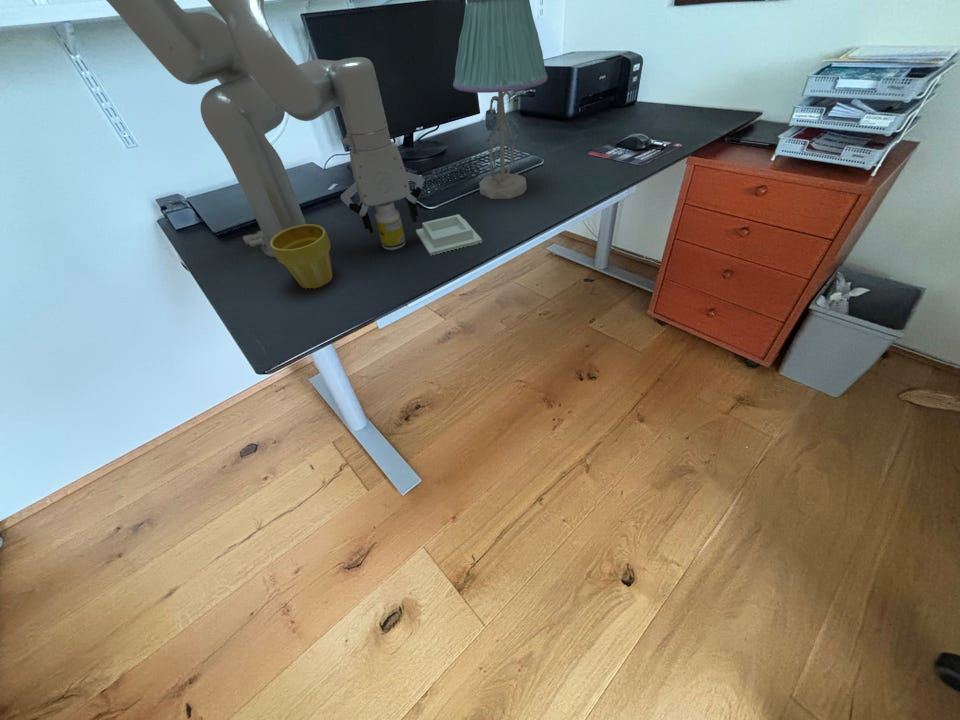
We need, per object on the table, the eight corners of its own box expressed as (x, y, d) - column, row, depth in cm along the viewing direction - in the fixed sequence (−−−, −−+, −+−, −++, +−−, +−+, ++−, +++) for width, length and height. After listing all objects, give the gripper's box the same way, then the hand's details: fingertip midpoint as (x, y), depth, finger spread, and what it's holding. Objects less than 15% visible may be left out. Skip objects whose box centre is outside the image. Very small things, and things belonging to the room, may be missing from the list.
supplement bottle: (380, 242, 92) (369, 200, 86) (403, 237, 94) (393, 194, 87) (384, 253, 89) (373, 209, 82) (408, 247, 90) (399, 204, 83)
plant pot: (281, 295, 79) (259, 250, 72) (301, 267, 87) (282, 224, 80) (332, 294, 78) (314, 248, 71) (347, 266, 86) (332, 222, 79)
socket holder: (430, 256, 86) (428, 244, 84) (416, 233, 94) (414, 221, 93) (482, 242, 89) (481, 231, 87) (464, 221, 97) (462, 210, 95)
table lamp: (487, 171, 120) (477, -10, 93) (555, 180, 112) (567, -16, 84) (448, 199, 107) (423, -1, 80) (521, 212, 99) (522, -9, 71)
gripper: (326, 154, 72) (356, 242, 83) (419, 134, 75) (435, 222, 87) (322, 144, 77) (351, 228, 89) (409, 126, 80) (425, 209, 92)
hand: (392, 225), depth 88 cm, fingers open, 9 cm apart
